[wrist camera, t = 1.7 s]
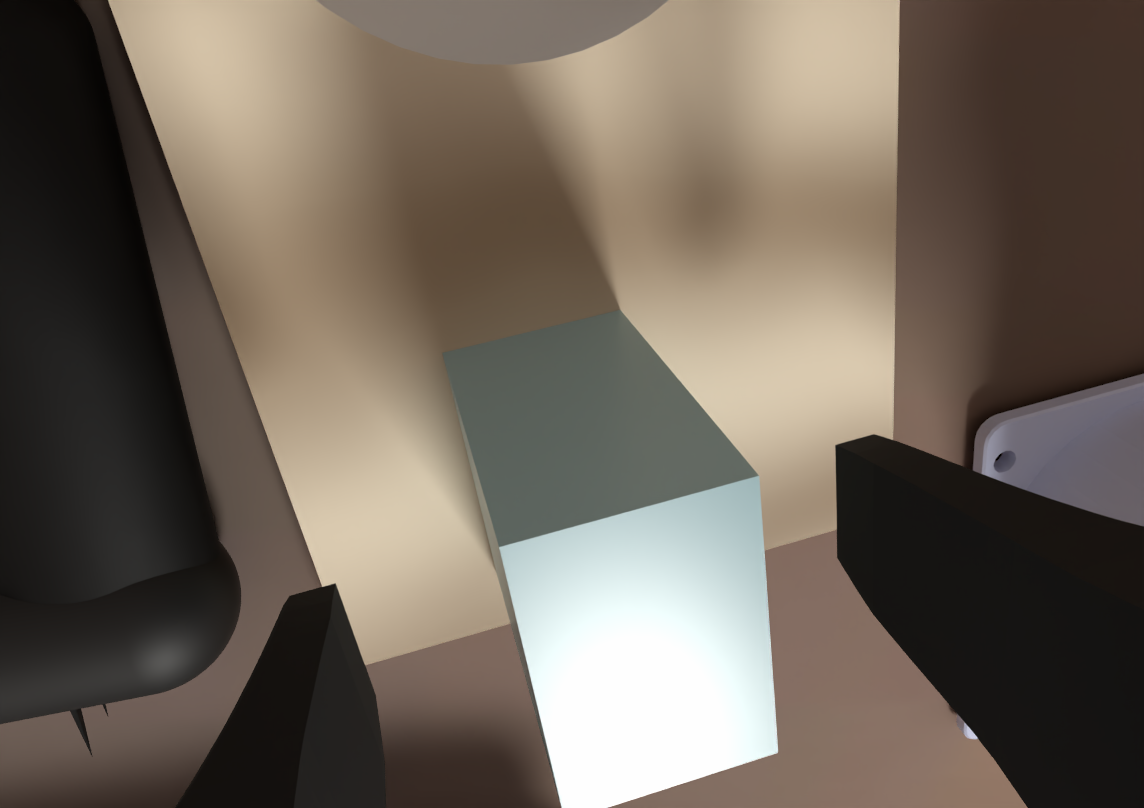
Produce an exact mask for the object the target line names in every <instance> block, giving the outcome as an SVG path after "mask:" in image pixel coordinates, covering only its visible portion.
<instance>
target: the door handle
mask: <svg viewBox="0 0 1144 808" xmlns="http://www.w3.org/2000/svg"><path fill="white" fill-rule="evenodd" d="M240 606H241V587H240V581H239V576H238V573H237V570H236V567H235V565H234V562H233V560H232V558H231V557H230V555H229V553H228V552H227V550H226V549H225V548H224V546H223V545H222V544H221V543H220V542H219V540H218V536H217V532H216V528H215V524H214V520H213V516H212V512H211V508H210V504H209V500H208V496H207V491H206V487H205V483H204V479H203V475H202V471H201V467H200V463H199V459H198V455H197V451H196V447H195V443H194V438H193V434H192V430H191V426H190V422H189V418H188V414H187V410H186V406H185V402H184V398H183V394H182V390H181V385H180V381H179V377H178V373H177V369H176V365H175V361H174V357H173V353H172V349H171V345H170V341H169V337H168V333H167V328H166V324H165V320H164V316H163V312H162V308H161V304H160V300H159V296H158V292H157V288H156V284H155V280H154V275H153V271H152V267H151V263H150V259H149V255H148V251H147V247H146V243H145V239H144V235H143V231H142V227H141V222H140V218H139V214H138V210H137V206H136V202H135V198H134V194H133V190H132V186H131V182H130V178H129V174H128V170H127V165H126V161H125V157H124V153H123V149H122V145H121V141H120V137H119V133H118V129H117V125H116V121H115V117H114V112H113V108H112V104H111V100H110V96H109V92H108V88H107V84H106V80H105V76H104V72H103V68H102V64H101V59H100V55H99V51H98V47H97V43H96V39H95V35H94V32H93V29H92V27H91V24H90V22H89V20H88V18H87V17H86V15H85V14H84V12H83V11H82V9H81V8H80V7H79V5H78V4H77V3H76V2H75V1H74V0H0V724H3V723H8V722H14V721H19V720H24V719H29V718H34V717H39V716H45V715H50V714H55V713H60V712H65V711H70V712H71V714H72V716H73V718H74V720H75V722H76V724H77V726H78V728H79V730H80V732H81V734H82V737H83V739H84V741H85V743H86V745H87V747H88V749H89V751H90V753H91V749H90V744H89V740H88V736H87V732H86V728H85V723H84V719H83V715H82V711H81V708H86V707H91V706H96V705H101V704H102V705H103V707H104V709H105V711H106V713H107V709H106V705H105V704H106V703H112V702H117V701H122V700H127V699H132V698H137V697H143V696H148V695H153V694H158V693H162V692H165V691H168V690H171V689H174V688H176V687H179V686H181V685H183V684H185V683H187V682H188V681H190V680H192V679H193V678H195V677H196V676H198V675H199V674H200V673H202V672H203V671H204V670H206V669H207V668H208V667H209V666H210V665H211V664H212V663H213V662H214V661H215V660H216V659H217V658H218V656H219V655H220V654H221V653H222V651H223V650H224V648H225V647H226V645H227V644H228V642H229V640H230V638H231V636H232V634H233V632H234V630H235V627H236V624H237V621H238V617H239V613H240ZM107 715H108V713H107ZM91 755H92V753H91Z"/></svg>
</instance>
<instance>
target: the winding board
mask: <svg viewBox="0 0 1144 808" xmlns="http://www.w3.org/2000/svg"><path fill="white" fill-rule="evenodd" d="M108 2H109V4H110V7H111V10H112V13H113V15H114V18H115V21H116V23H117V26H118V29H119V32H120V34H121V37H122V40H123V43H124V45H125V48H126V51H127V54H128V56H129V59H130V62H131V65H132V67H133V70H134V73H135V75H136V78H137V81H138V84H139V86H140V89H141V92H142V95H143V97H144V100H145V103H146V106H147V108H148V111H149V114H150V117H151V119H152V122H153V125H154V127H155V130H156V133H157V136H158V138H159V141H160V144H161V147H162V149H163V152H164V155H165V158H166V160H167V163H168V166H169V168H170V171H171V174H172V177H173V179H174V182H175V185H176V188H177V190H178V193H179V196H180V199H181V201H182V204H183V207H184V210H185V212H186V215H187V218H188V220H189V223H190V226H191V229H192V231H193V234H194V237H195V240H196V242H197V245H198V248H199V251H200V253H201V256H202V259H203V262H204V264H205V267H206V270H207V272H208V275H209V278H210V281H211V283H212V286H213V289H214V292H215V294H216V297H217V300H218V303H219V305H220V308H221V311H222V314H223V316H224V319H225V322H226V324H227V327H228V330H229V333H230V335H231V338H232V341H233V344H234V346H235V349H236V352H237V355H238V357H239V360H240V363H241V365H242V368H243V371H244V374H245V376H246V379H247V382H248V385H249V387H250V390H251V393H252V396H253V398H254V401H255V404H256V407H257V409H258V412H259V415H260V417H261V420H262V423H263V426H264V428H265V431H266V434H267V437H268V439H269V442H270V445H271V448H272V450H273V453H274V456H275V459H276V461H277V464H278V467H279V469H280V472H281V475H282V478H283V480H284V483H285V486H286V489H287V491H288V494H289V497H290V500H291V502H292V505H293V508H294V511H295V513H296V516H297V519H298V521H299V524H300V527H301V530H302V532H303V535H304V538H305V541H306V543H307V546H308V549H309V552H310V554H311V557H312V560H313V562H314V565H315V568H316V571H317V573H318V576H319V579H320V582H321V584H322V587H324V586H327V585H331V584H335V583H336V585H337V588H338V591H339V594H340V597H341V599H342V602H343V605H344V608H345V611H346V614H347V616H348V619H349V622H350V625H351V628H352V630H353V633H354V636H355V639H356V642H357V644H358V647H359V650H360V653H361V656H362V658H363V661H364V664H365V665H368V664H371V663H375V662H378V661H382V660H385V659H389V658H392V657H396V656H399V655H403V654H406V653H409V652H413V651H416V650H420V649H423V648H427V647H430V646H434V645H437V644H441V643H444V642H448V641H451V640H455V639H458V638H462V637H465V636H469V635H472V634H476V633H479V632H482V631H486V630H489V629H493V628H496V627H500V626H503V625H507V624H510V620H509V616H508V613H507V609H506V605H505V602H504V598H503V594H502V591H501V587H500V584H499V580H498V576H497V573H496V569H495V565H494V561H493V557H492V553H491V548H490V544H489V540H488V536H487V532H486V528H485V524H484V520H483V516H482V512H481V508H480V504H479V500H478V496H477V492H476V488H475V484H474V480H473V476H472V471H471V467H470V463H469V459H468V455H467V451H466V447H465V443H464V439H463V435H462V431H461V427H460V423H459V419H458V415H457V411H456V407H455V403H454V398H453V394H452V390H451V386H450V382H449V378H448V374H447V370H446V366H445V362H444V358H443V354H442V353H444V352H448V351H452V350H456V349H460V348H465V347H469V346H473V345H477V344H481V343H485V342H489V341H493V340H498V339H502V338H506V337H510V336H514V335H518V334H522V333H526V332H531V331H535V330H539V329H543V328H547V327H551V326H555V325H560V324H564V323H568V322H572V321H576V320H580V319H584V318H588V317H593V316H597V315H601V314H605V313H609V312H613V311H617V310H621V311H622V312H623V314H624V315H625V316H626V317H627V318H628V320H629V321H630V322H631V323H632V324H633V325H634V327H635V328H636V329H637V330H638V331H639V333H640V334H641V335H642V336H643V337H644V339H645V340H646V341H647V342H648V343H649V345H650V346H651V347H652V348H653V349H654V351H655V352H656V353H657V354H658V355H659V357H660V358H661V359H662V360H663V361H664V363H665V364H666V365H667V366H668V367H669V369H670V370H671V371H672V372H673V373H674V374H675V376H676V377H677V378H678V379H679V380H680V382H681V383H682V384H683V385H684V386H685V388H686V389H687V390H688V391H689V392H690V394H691V395H692V396H693V397H694V398H695V400H696V401H697V402H698V403H699V404H700V406H701V407H702V408H703V409H704V410H705V412H706V413H707V414H708V415H709V416H710V418H711V419H712V420H713V421H714V422H715V423H716V425H717V426H718V427H719V428H720V429H721V431H722V432H723V433H724V434H725V435H726V437H727V438H728V439H729V440H730V441H731V443H732V444H733V445H734V446H735V447H736V449H737V450H738V451H739V452H740V453H741V455H742V456H743V457H744V458H745V459H746V461H747V462H748V463H749V464H750V465H751V467H752V468H753V469H754V470H755V471H756V472H757V474H758V475H759V480H760V495H761V509H762V524H763V539H764V550H768V549H771V548H775V547H778V546H781V545H785V544H788V543H792V542H795V541H799V540H802V539H806V538H809V537H813V536H816V535H820V534H823V533H827V532H830V531H834V530H837V508H836V455H835V445H837V444H840V443H844V442H847V441H851V440H855V439H858V438H862V437H865V436H869V435H873V434H875V435H879V436H882V437H885V438H888V439H891V440H893V412H894V344H895V277H896V210H897V143H898V76H899V8H900V0H108Z"/></svg>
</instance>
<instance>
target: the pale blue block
mask: <svg viewBox="0 0 1144 808" xmlns="http://www.w3.org/2000/svg"><path fill="white" fill-rule="evenodd" d="M442 354H443V358H444V362H445V366H446V370H447V374H448V378H449V382H450V386H451V390H452V394H453V398H454V403H455V407H456V411H457V415H458V419H459V423H460V427H461V431H462V435H463V439H464V443H465V447H466V451H467V455H468V459H469V463H470V467H471V471H472V476H473V480H474V484H475V488H476V492H477V496H478V500H479V504H480V508H481V512H482V516H483V520H484V524H485V528H486V532H487V536H488V540H489V544H490V548H491V553H492V557H493V561H494V565H495V569H496V573H497V576H498V580H499V584H500V587H501V591H502V594H503V598H504V602H505V605H506V609H507V613H508V616H509V620H510V623H511V627H512V631H513V634H514V638H515V642H516V645H517V649H518V652H519V656H520V660H521V663H522V667H523V670H524V674H525V678H526V681H527V685H528V689H529V692H530V696H531V699H532V703H533V707H534V710H535V714H536V718H537V721H538V725H539V728H540V732H541V736H542V739H543V743H544V747H545V750H546V754H547V757H548V761H549V765H550V768H551V772H552V775H553V779H554V783H555V786H556V790H557V794H558V797H559V801H560V804H561V808H607V807H611V806H614V805H617V804H620V803H623V802H626V801H629V800H632V799H635V798H639V797H642V796H645V795H648V794H651V793H654V792H657V791H660V790H663V789H666V788H670V787H673V786H676V785H679V784H682V783H685V782H688V781H691V780H694V779H698V778H701V777H704V776H707V775H710V774H713V773H716V772H719V771H722V770H726V769H729V768H732V767H735V766H738V765H741V764H744V763H747V762H750V761H753V760H757V759H760V758H763V757H766V756H769V755H772V754H775V753H778V744H777V729H776V715H775V700H774V685H773V671H772V656H771V641H770V627H769V612H768V597H767V583H766V568H765V553H764V539H763V524H762V509H761V495H760V480H759V475H758V474H757V472H756V471H755V470H754V469H753V468H752V467H751V465H750V464H749V463H748V462H747V461H746V459H745V458H744V457H743V456H742V455H741V453H740V452H739V451H738V450H737V449H736V447H735V446H734V445H733V444H732V443H731V441H730V440H729V439H728V438H727V437H726V435H725V434H724V433H723V432H722V431H721V429H720V428H719V427H718V426H717V425H716V423H715V422H714V421H713V420H712V419H711V418H710V416H709V415H708V414H707V413H706V412H705V410H704V409H703V408H702V407H701V406H700V404H699V403H698V402H697V401H696V400H695V398H694V397H693V396H692V395H691V394H690V392H689V391H688V390H687V389H686V388H685V386H684V385H683V384H682V383H681V382H680V380H679V379H678V378H677V377H676V376H675V374H674V373H673V372H672V371H671V370H670V369H669V367H668V366H667V365H666V364H665V363H664V361H663V360H662V359H661V358H660V357H659V355H658V354H657V353H656V352H655V351H654V349H653V348H652V347H651V346H650V345H649V343H648V342H647V341H646V340H645V339H644V337H643V336H642V335H641V334H640V333H639V331H638V330H637V329H636V328H635V327H634V325H633V324H632V323H631V322H630V321H629V320H628V318H627V317H626V316H625V315H624V314H623V312H622V311H621V310H617V311H613V312H609V313H605V314H601V315H597V316H593V317H588V318H584V319H580V320H576V321H572V322H568V323H564V324H560V325H555V326H551V327H547V328H543V329H539V330H535V331H531V332H526V333H522V334H518V335H514V336H510V337H506V338H502V339H498V340H493V341H489V342H485V343H481V344H477V345H473V346H469V347H465V348H460V349H456V350H452V351H448V352H444V353H442Z"/></svg>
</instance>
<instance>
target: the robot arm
mask: <svg viewBox="0 0 1144 808" xmlns="http://www.w3.org/2000/svg"><path fill="white" fill-rule="evenodd" d="M1001 453H1003V454H1002V456H1001V457H1000V458H999V459H998V460H997V461H995V459H996V458H997V457H998V456H999V455H1000V454H1001ZM835 455H836V508H837V558H838V560H839V561H840V563H841V564H842V566H843V568H844V569H845V571H846V573H847V574H848V576H849V578H850V579H851V581H852V582H853V584H854V586H855V587H856V589H857V590H858V592H859V594H860V595H861V597H862V598H863V600H864V601H865V603H866V604H867V606H868V607H869V609H870V610H871V612H872V613H873V615H874V616H875V617H876V618H877V619H878V621H879V622H880V623H881V624H882V626H883V627H884V628H885V629H886V630H887V632H888V633H889V634H890V635H891V636H892V638H893V639H894V640H895V641H896V642H897V644H898V645H899V646H900V647H901V648H902V650H903V651H904V652H905V653H906V654H907V655H908V657H909V658H910V659H911V660H912V661H913V663H914V664H915V665H916V666H917V667H918V668H919V670H920V671H921V672H922V673H923V674H924V675H925V677H926V678H927V679H928V680H929V681H930V682H931V684H932V685H933V686H934V687H935V688H936V689H937V691H938V692H939V693H940V694H941V695H942V696H943V698H944V699H945V700H946V701H947V702H948V703H949V705H950V706H951V707H952V708H953V709H954V710H955V712H956V713H957V726H958V727H959V729H960V730H961V731H962V732H963V733H964V735H965V736H966V737H968V738H970V739H979V740H980V742H981V743H982V744H983V746H984V747H985V748H986V749H987V751H988V752H989V753H990V754H991V756H992V757H993V758H994V760H995V761H996V762H997V764H998V765H999V767H1000V768H1001V770H1002V771H1003V773H1004V774H1005V775H1006V777H1007V778H1008V780H1009V781H1010V783H1011V784H1012V786H1013V787H1014V788H1015V790H1016V791H1017V793H1018V794H1019V796H1020V797H1021V799H1022V800H1023V801H1024V803H1025V804H1026V806H1027V807H1028V808H1144V374H1141V375H1137V376H1133V377H1130V378H1126V379H1122V380H1119V381H1115V382H1112V383H1108V384H1104V385H1101V386H1097V387H1093V388H1090V389H1086V390H1083V391H1079V392H1075V393H1072V394H1068V395H1064V396H1061V397H1057V398H1053V399H1050V400H1046V401H1043V402H1039V403H1035V404H1032V405H1028V406H1024V407H1021V408H1017V409H1014V410H1010V411H1006V412H1003V413H999V414H996V415H994V416H992V417H990V418H988V419H987V420H986V421H985V422H984V423H983V424H982V425H981V426H980V428H979V429H978V431H977V434H976V438H975V445H974V461H973V470H970V469H968V468H965V467H962V466H960V465H957V464H955V463H952V462H950V461H947V460H944V459H942V458H939V457H937V456H934V455H932V454H929V453H926V452H924V451H921V450H919V449H916V448H913V447H911V446H908V445H905V444H903V443H900V442H897V441H894V440H891V439H888V438H885V437H882V436H879V435H875V434H873V435H869V436H865V437H862V438H858V439H855V440H851V441H847V442H844V443H840V444H837V445H835ZM175 808H386V794H385V761H384V753H383V746H382V738H381V730H380V723H379V716H378V709H377V702H376V695H375V692H374V689H373V686H372V684H371V681H370V678H369V675H368V672H367V670H366V667H365V664H364V661H363V658H362V656H361V653H360V650H359V647H358V644H357V642H356V639H355V636H354V633H353V630H352V628H351V625H350V622H349V619H348V616H347V614H346V611H345V608H344V605H343V602H342V599H341V597H340V594H339V591H338V588H337V585H336V583H335V584H331V585H327V586H324V587H320V588H317V589H313V590H309V591H306V592H302V593H299V594H295V595H291V596H289V598H288V599H287V601H286V602H285V604H284V605H283V608H282V610H281V612H280V614H279V617H278V619H277V621H276V623H275V626H274V628H273V630H272V632H271V634H270V637H269V639H268V641H267V643H266V645H265V647H264V650H263V652H262V654H261V656H260V658H259V660H258V662H257V664H256V666H255V668H254V670H253V673H252V675H251V677H250V678H249V680H248V682H247V684H246V686H245V688H244V690H243V692H242V694H241V696H240V698H239V700H238V702H237V704H236V705H235V707H234V709H233V711H232V713H231V715H230V717H229V719H228V721H227V722H226V724H225V726H224V728H223V730H222V731H221V733H220V735H219V737H218V738H217V740H216V742H215V743H214V745H213V747H212V748H211V750H210V752H209V754H208V755H207V757H206V759H205V760H204V762H203V764H202V765H201V767H200V769H199V770H198V772H197V774H196V776H195V777H194V779H193V781H192V782H191V784H190V785H189V787H188V788H187V790H186V792H185V793H184V795H183V796H182V798H181V799H180V801H179V802H178V804H177V805H176V807H175Z"/></svg>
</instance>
